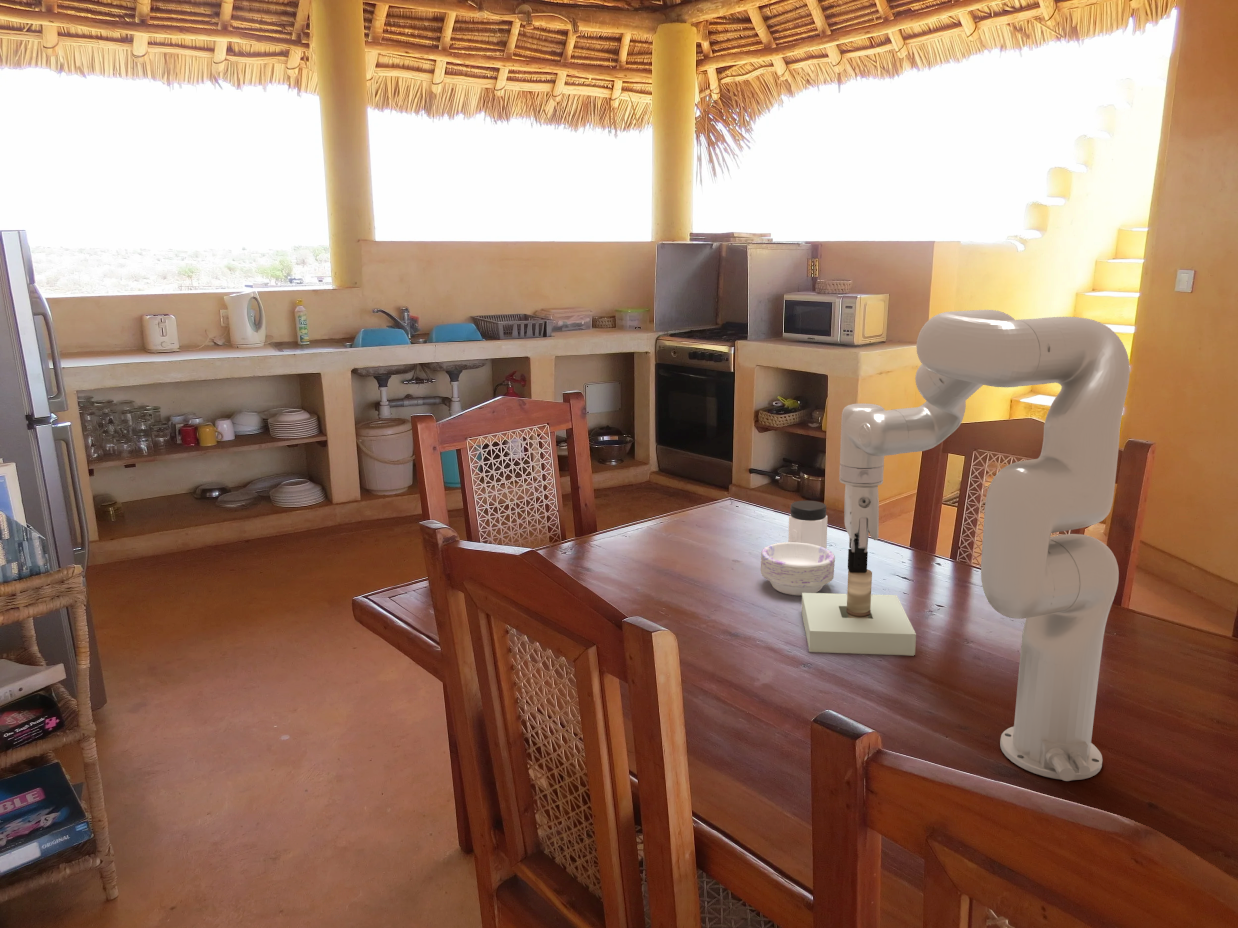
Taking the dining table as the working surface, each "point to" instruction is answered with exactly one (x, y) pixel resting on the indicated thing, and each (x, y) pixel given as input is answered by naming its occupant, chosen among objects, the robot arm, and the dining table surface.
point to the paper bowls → (797, 567)
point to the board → (857, 626)
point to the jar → (808, 523)
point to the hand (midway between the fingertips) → (857, 570)
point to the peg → (859, 594)
